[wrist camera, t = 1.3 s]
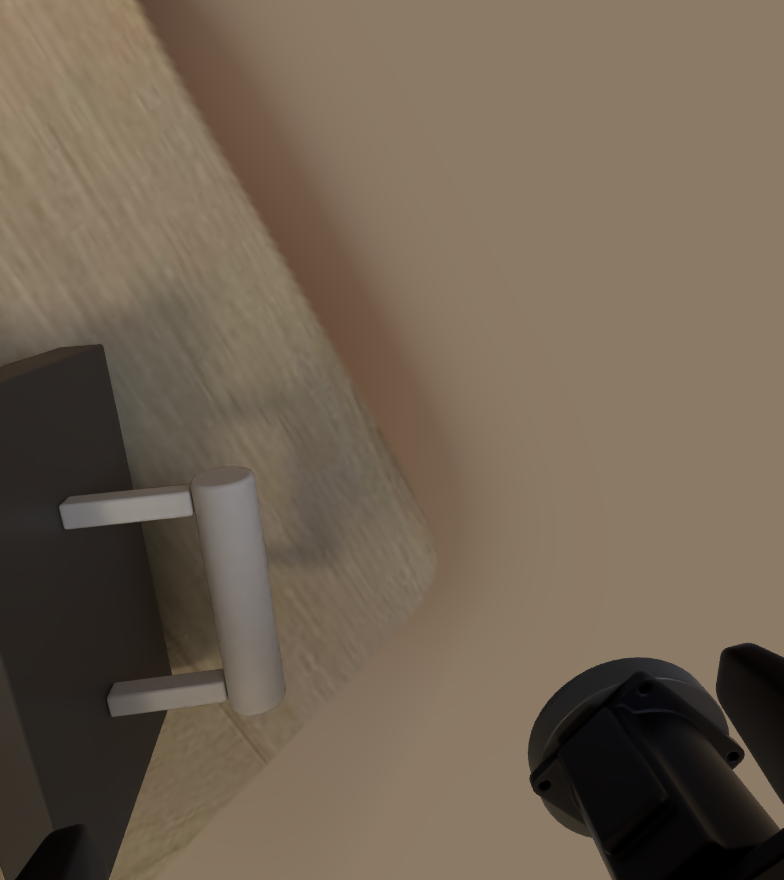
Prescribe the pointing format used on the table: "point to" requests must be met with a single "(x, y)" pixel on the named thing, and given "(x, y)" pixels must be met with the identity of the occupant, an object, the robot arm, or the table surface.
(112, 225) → the table surface
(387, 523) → the table surface
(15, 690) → the drawer
